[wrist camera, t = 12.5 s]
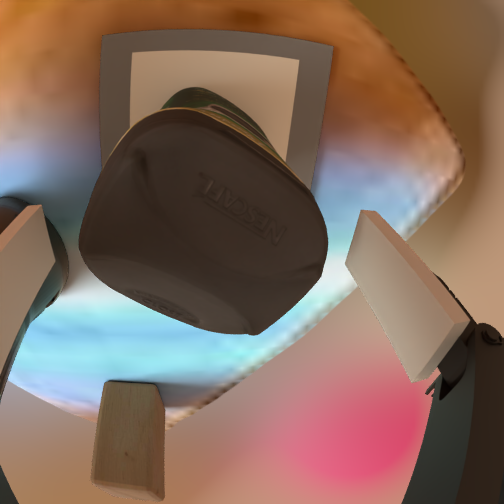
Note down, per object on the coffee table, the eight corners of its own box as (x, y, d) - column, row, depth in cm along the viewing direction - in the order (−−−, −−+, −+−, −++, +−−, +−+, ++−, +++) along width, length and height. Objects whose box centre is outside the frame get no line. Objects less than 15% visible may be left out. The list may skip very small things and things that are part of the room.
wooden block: (157, 381, 46) (153, 493, 30) (166, 408, 51) (165, 502, 35) (102, 378, 45) (87, 483, 28) (118, 405, 50) (109, 496, 34)
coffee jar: (137, 148, 24) (37, 284, 9) (187, 73, 21) (128, 74, 6) (225, 202, 28) (246, 375, 13) (278, 135, 25) (381, 254, 10)
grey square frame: (112, 230, 30) (109, 237, 29) (106, 36, 19) (101, 35, 18) (297, 234, 33) (301, 241, 32) (328, 47, 22) (334, 46, 21)
